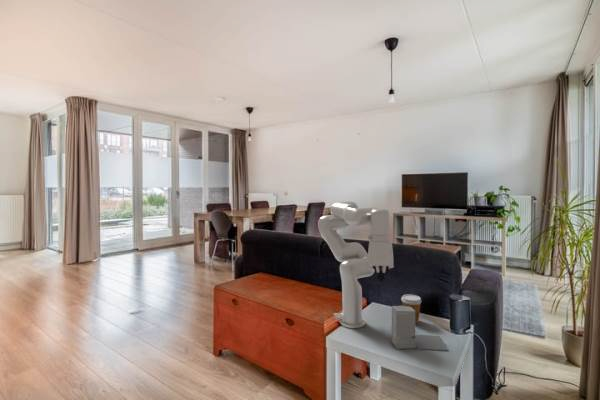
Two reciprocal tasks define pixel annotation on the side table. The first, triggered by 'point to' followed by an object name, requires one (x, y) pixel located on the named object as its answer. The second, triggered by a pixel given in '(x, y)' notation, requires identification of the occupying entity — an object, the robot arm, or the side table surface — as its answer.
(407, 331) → the skincare box
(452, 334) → the side table surface
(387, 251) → the robot arm
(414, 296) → the disposable coffee cup
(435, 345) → the mat
